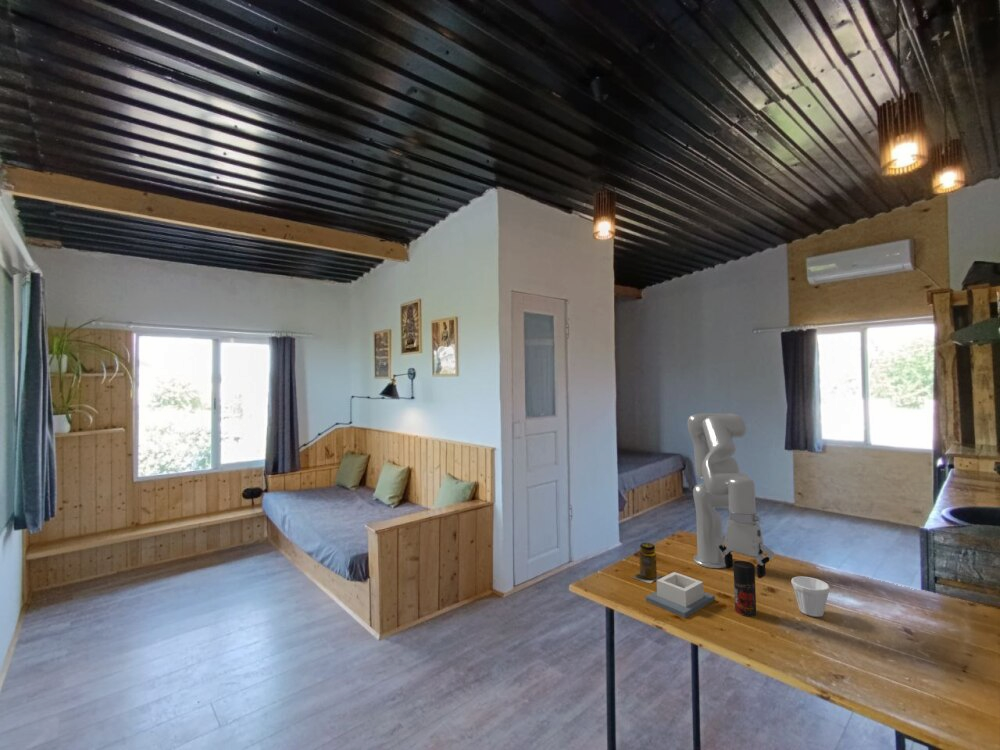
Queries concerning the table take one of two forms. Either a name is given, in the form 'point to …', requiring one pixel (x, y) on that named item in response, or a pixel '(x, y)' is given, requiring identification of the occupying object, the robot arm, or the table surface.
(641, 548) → the condiment
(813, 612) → the cup
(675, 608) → the socket
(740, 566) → the deodorant
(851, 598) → the table surface
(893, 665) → the table surface
